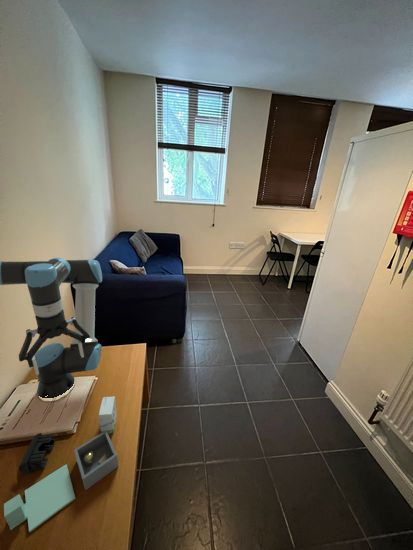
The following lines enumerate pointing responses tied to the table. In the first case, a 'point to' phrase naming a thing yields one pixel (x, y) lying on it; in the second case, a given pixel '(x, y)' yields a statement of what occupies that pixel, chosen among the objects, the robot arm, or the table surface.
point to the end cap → (36, 453)
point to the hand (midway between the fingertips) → (60, 363)
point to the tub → (96, 459)
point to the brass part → (89, 458)
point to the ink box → (107, 414)
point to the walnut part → (103, 459)
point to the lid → (41, 500)
